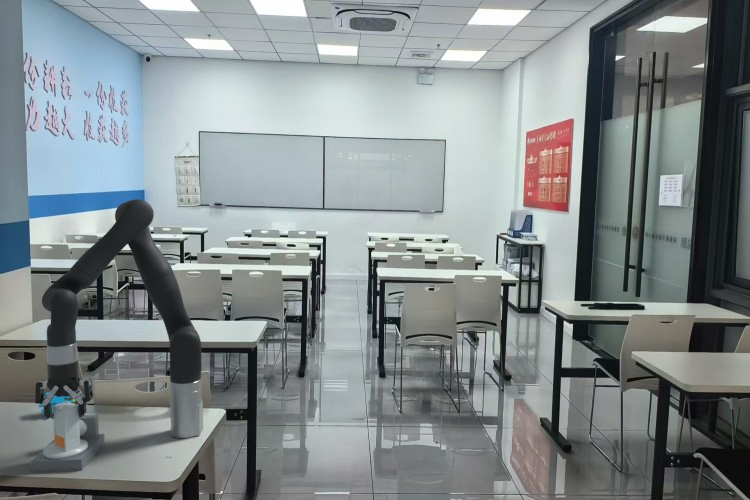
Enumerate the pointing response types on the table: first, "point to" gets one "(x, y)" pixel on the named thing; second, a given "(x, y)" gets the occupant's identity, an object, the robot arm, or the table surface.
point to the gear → (56, 401)
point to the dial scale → (77, 457)
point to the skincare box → (66, 426)
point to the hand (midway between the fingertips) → (65, 416)
